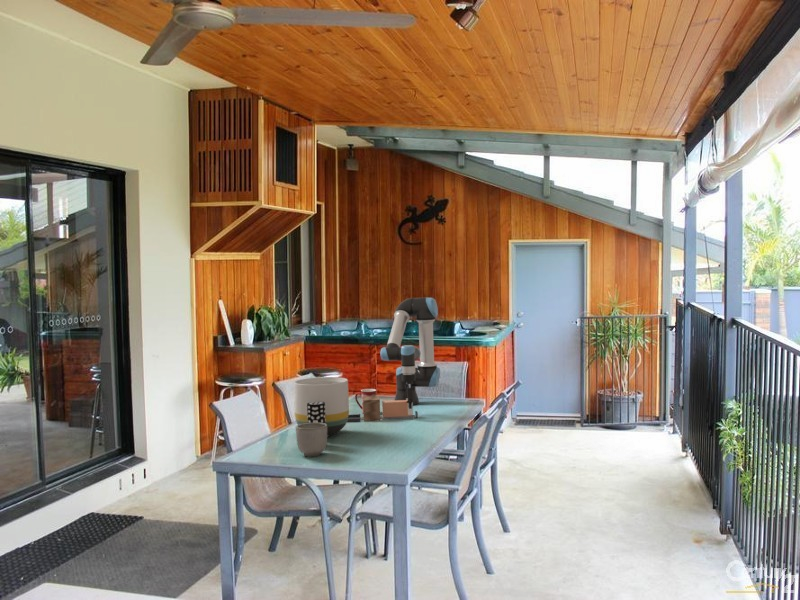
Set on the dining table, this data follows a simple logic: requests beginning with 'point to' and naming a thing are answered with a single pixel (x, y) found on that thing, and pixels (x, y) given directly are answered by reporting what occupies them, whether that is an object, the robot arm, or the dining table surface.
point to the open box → (371, 408)
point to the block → (395, 408)
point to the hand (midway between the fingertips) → (409, 412)
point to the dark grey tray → (354, 418)
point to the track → (397, 417)
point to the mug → (365, 395)
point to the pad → (397, 419)
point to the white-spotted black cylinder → (316, 412)
